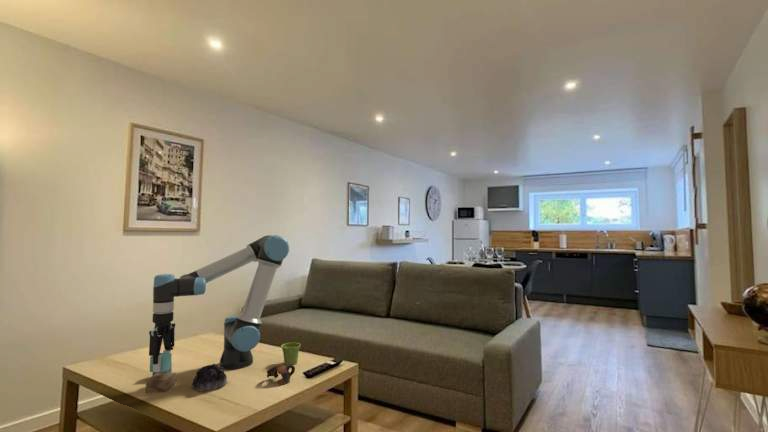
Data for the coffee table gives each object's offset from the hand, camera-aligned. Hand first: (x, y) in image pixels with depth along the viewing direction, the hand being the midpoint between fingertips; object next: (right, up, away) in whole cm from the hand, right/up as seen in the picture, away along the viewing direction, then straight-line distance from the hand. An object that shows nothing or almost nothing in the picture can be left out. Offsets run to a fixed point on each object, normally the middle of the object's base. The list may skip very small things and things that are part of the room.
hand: (161, 368), depth 157 cm
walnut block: (0, -8, 0) cm, 8 cm away
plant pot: (+46, -9, +30) cm, 56 cm away
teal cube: (0, 0, 0) cm, 1 cm away
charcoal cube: (-6, -8, +11) cm, 15 cm away
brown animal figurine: (+47, -9, +8) cm, 49 cm away
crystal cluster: (+19, -8, +2) cm, 21 cm away
